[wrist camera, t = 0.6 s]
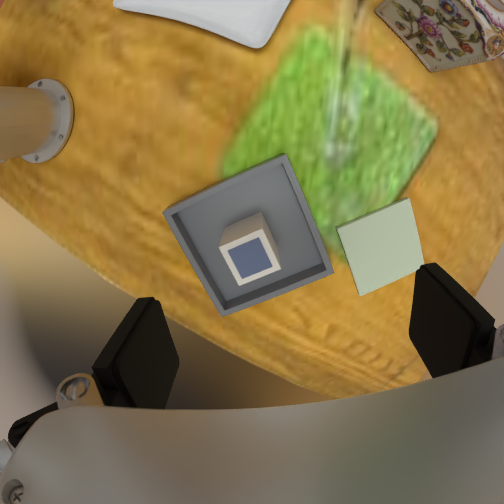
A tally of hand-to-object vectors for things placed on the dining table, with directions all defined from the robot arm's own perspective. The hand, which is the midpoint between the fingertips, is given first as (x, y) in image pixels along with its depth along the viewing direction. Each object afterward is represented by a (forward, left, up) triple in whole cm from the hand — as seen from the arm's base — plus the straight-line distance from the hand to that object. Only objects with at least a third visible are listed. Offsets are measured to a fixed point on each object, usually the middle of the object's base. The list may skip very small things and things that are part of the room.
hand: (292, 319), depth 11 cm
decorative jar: (+30, +13, -29) cm, 44 cm away
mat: (+11, -14, -29) cm, 34 cm away
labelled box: (-5, -5, -29) cm, 29 cm away
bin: (-5, -5, -29) cm, 30 cm away
